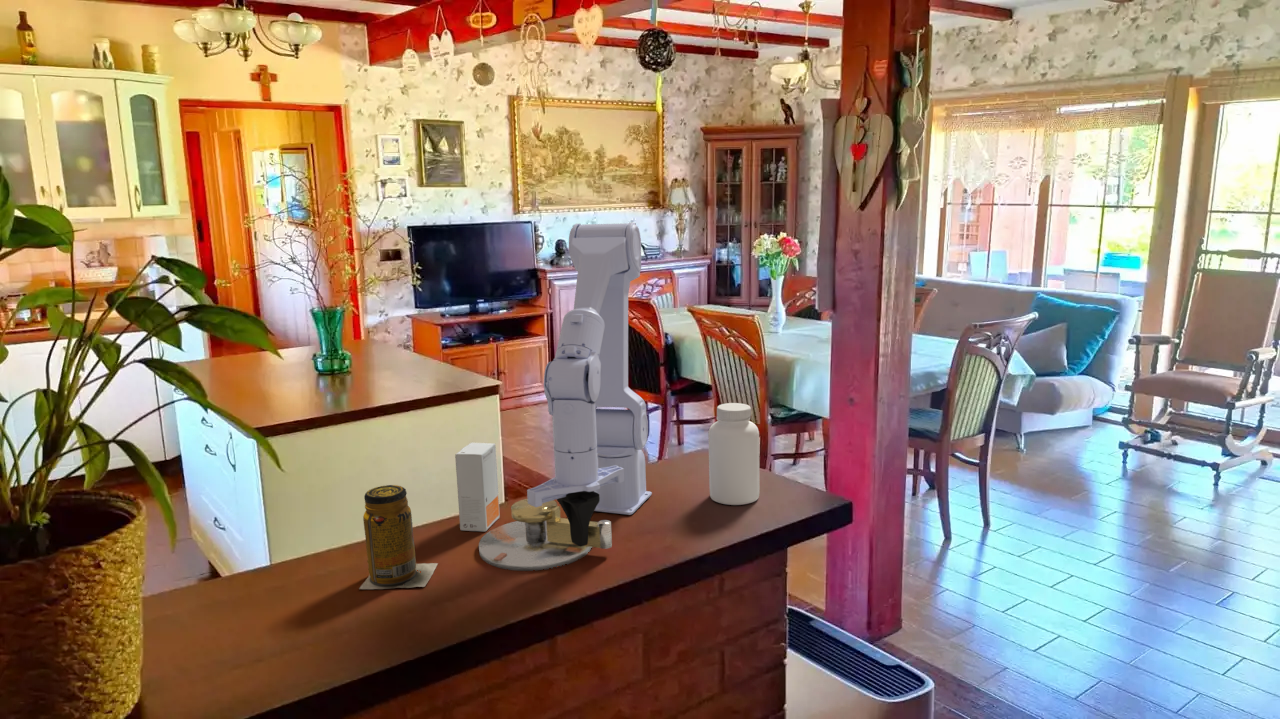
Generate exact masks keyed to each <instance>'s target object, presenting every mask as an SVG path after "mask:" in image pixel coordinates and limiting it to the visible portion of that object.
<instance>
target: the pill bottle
mask: <svg viewBox="0 0 1280 719" xmlns="http://www.w3.org/2000/svg"><path fill="white" fill-rule="evenodd" d="M751 416H752V408H751V405H748V404H747V403H740V402H727V403H722V404H719V405H717V407H716V420H717V421H715V422H713V423H711V425H710V427H709V428H708V473H709V474H708V475H709V477H708V478H709V485H708V486H709V496H710V498H711V500H712V501H714V502H716V503H718V504H723V505H728V506H730V505H731V506H741V505H748V504H751V503H754V502H756V501H757V500H758V499H759V497H760V431H759V428H758V426H757V425H756V424H755V423H754V422H752V421H750V420H751Z"/></svg>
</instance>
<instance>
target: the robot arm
mask: <svg viewBox="0 0 1280 719" xmlns="http://www.w3.org/2000/svg"><path fill="white" fill-rule="evenodd" d="M568 235H569V236H568V251H569V252H568V253H569V257H570V259H571V261H572V263H573V264H572V265H573V267H574V270H575V271H576V272H577V275H576V276H577V277H576V284H575V285H576V286H575V293H574V295H575V296H574V302H573V303H574V305H573V309H572V310H570V311H568V312H567V313H565V315H564V316H563V318H562V320H563V321H562V324H561V329H560V333H559V337H558V342H557V347H556V352H555V356H554V358H553V360H552V361H549V362H547V363H546V366H545V368H544V375H543V390H544V392H543V393H544V395H545V398H546V401H547V407H548V408H547V411H548V415H551V417H552V438H553V452H554V453H553V454H554V456H553V457H554V470H555V471H554V472H555V473H554V474H555V477H552V478H551V479H549V480H547V481H545V482H543V483H541V484H538V485H536V486H535V487H534V486H533V487H532V488H528V489H527V490H526V492H527V493H526V494H527V495H526V499H528V504H530V505H532V506H534V507H539V506H542V503H545V502H549V501H552V500H554V501H555V500H557V501H556V502H558V504H559V506H560V508H561V509H562V511H563V512H564V514H565V516H566V519H568V521H569V523H570V534H571V540H572V543H574V544H576V545H578V546H580V547H581V546H584V545H587V544H588V526H589V523H590V521H592V520H591V519H592V517H593V514H594V512H600V513H609V514H620V515H628V516H631V515H633V514H634V513H635V512H636V511H637V510H638V509H639V508H640V507H641V506H642V505H643V504H644V503H645V502H646V501H647V500H648V499H649V498H650V497H651V496H652V494H653V492H652V491H650V490H649V491H648V490H647V479H646V478H647V477H646V458H645V457H646V456H645V454H644V452H643V450H642V449H643V448H644V447H645V446H646V445H647V441H648V435H649V421H648V415H647V404H646V402H645V400H644V399H643V398H642V397H641V396H640V395H639V394H638V393H636V392H635V391H634V390H633V389H631V388H630V387H629V292H630V287H631V282H632V281H634V280H636V279H639V278H640V276H641V269H642V239H641V232H640V228H639V226H637V224H636V222H633V221H632V222H628V223H627V222H626V223H625V222H623V223H590V224H588V223H587V224H585V223H584V224H581V223H575V224H573V226H572V227H571V229H570V231H569V234H568ZM612 408H613V409H612ZM614 408H617V409H614ZM618 408H621V409H618ZM623 408H624V409H623ZM625 408H626V409H625Z"/></svg>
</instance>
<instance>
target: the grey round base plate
mask: <svg viewBox="0 0 1280 719" xmlns="http://www.w3.org/2000/svg"><path fill="white" fill-rule="evenodd" d="M591 548H592V549H593V547H589V546H581V547H580V546H578V545H573V544H565V543H557V542H549V541H548V540H547V523H546V521H542V522H536V523H525V522H519V521H516V520H514V521H511V522H508V523H506V524H502V525H498V526H497V527H494V528H493V529H491V530H489V531H488V532H485V534H484V535H483V536H482V537H481V538H480V540H479V542H478V550H479V551H478V552H479V557H480V558H481V560H482V561H484V562H485V563H486V564H488V565H490V566H492V567H495V568H499V569H504V570H507V569H508V570H509V571H521V572H526V571H527V572H530V571H531V572H532V571H533V570H535V571H541V570H542V571H543V569H544V570H549V568H551V569H554V568H553V567H556V568H558V567H557V566H560V567H563V566H566V565H565V564H567V565H570V564H572V563H574V562H577V561H579V560H580V559H583V557H585V556H586V555H588V554H589V553H590V551H591V550H592V549H591ZM588 552H589V553H588ZM578 559H579V560H578ZM562 565H563V566H562ZM508 570H507V571H508ZM533 572H534V571H533Z"/></svg>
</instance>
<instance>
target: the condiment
mask: <svg viewBox="0 0 1280 719" xmlns="http://www.w3.org/2000/svg"><path fill="white" fill-rule="evenodd" d="M407 494H408V493H407V490H406V488H405V487H403V486H401V485H398V484H388V485H387V484H386V485H380V486H376V487H372V488H371V489H369V490H367V491H366V492H365V494H364V503H365V504H364V509H365V512H364V513H363V516H362V517H363V518H362V520H363V530H364V535H365V537H364V538H365V547H366V550H365V551H366V555H367V566H368V567H367V568H368V577H367V578H366V579H365V581H364V582H363V583H362V584H361V585H360V587H359V588H358V589H359V590H388V589H396V588H401V589H403V588H405V589H409V588H416V587H419V588H420V587H422V588H424V587H426V585H427V584H428V583H429V581H430V579H431V577H432V576H433V574H434V572H435V570H436V569H437V566H438V564H439V563H437V562H434V563H433V562H430V563H426V562H423V563H417V560H416V551H415V541H414V538H415V537H414V528H413V517H412V510H411V508H410V506H409V504H408V503H409V502H408V498H407ZM417 570H418V571H417ZM420 571H421V573H420Z"/></svg>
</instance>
